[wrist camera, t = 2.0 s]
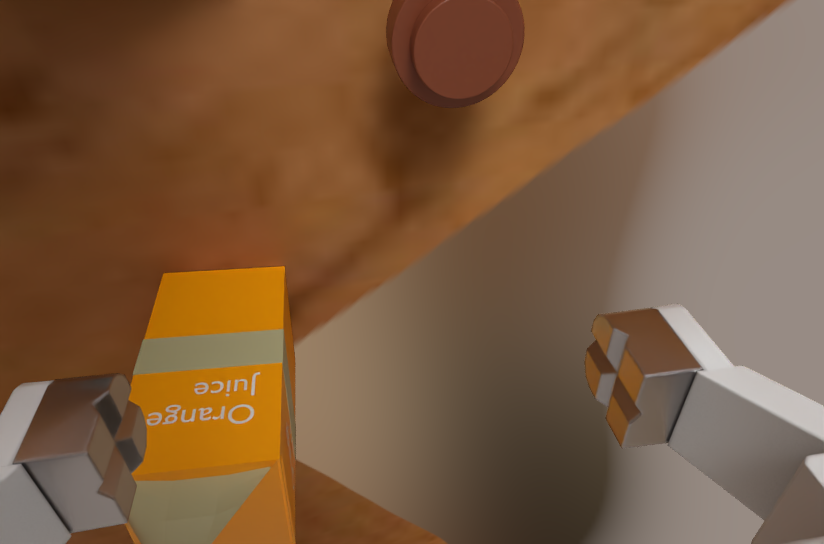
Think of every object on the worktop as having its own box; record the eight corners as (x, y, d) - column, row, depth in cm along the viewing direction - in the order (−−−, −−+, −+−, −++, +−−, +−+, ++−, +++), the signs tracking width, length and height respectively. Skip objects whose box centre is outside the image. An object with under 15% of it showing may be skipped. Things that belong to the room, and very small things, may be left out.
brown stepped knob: (373, -49, 27) (389, -22, 23) (497, -59, 28) (538, -34, 23) (383, 77, 31) (398, 123, 26) (492, 67, 31) (526, 109, 27)
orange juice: (286, 265, 37) (280, 582, 22) (297, 360, 43) (297, 669, 27) (159, 272, 36) (56, 613, 21) (186, 369, 42) (121, 697, 26)
